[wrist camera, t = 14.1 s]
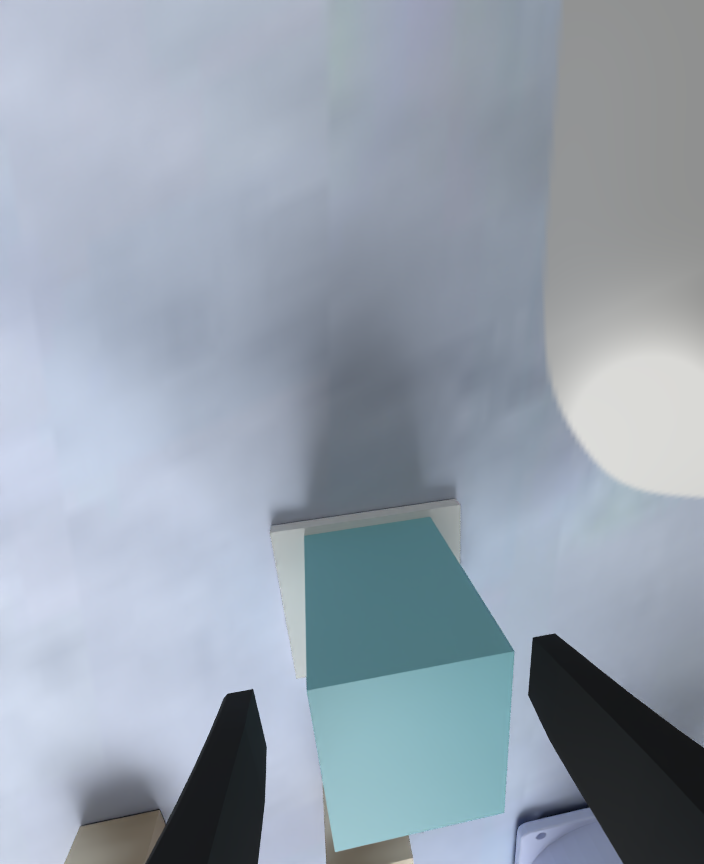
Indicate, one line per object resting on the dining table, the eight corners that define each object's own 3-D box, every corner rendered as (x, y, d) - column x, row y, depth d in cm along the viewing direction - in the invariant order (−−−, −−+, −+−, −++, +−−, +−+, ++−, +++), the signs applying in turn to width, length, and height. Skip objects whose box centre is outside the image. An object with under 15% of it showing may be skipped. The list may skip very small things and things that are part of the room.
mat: (455, 498, 12) (460, 504, 12) (455, 639, 14) (459, 648, 14) (270, 525, 12) (269, 532, 11) (296, 668, 14) (296, 679, 13)
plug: (430, 516, 12) (514, 650, 7) (435, 734, 15) (496, 925, 10) (304, 535, 12) (306, 690, 7) (337, 754, 15) (354, 962, 10)
